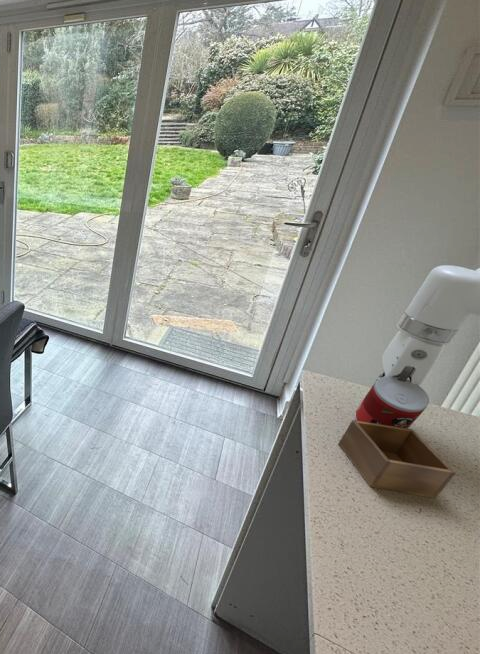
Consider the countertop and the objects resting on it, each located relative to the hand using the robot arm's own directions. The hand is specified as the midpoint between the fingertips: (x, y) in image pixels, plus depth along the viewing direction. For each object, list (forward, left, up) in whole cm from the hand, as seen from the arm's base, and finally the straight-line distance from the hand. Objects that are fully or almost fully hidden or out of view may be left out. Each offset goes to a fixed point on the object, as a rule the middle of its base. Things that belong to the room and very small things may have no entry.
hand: (377, 398), depth 88 cm
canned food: (+1, +4, -3) cm, 5 cm away
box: (+7, +17, -4) cm, 18 cm away
